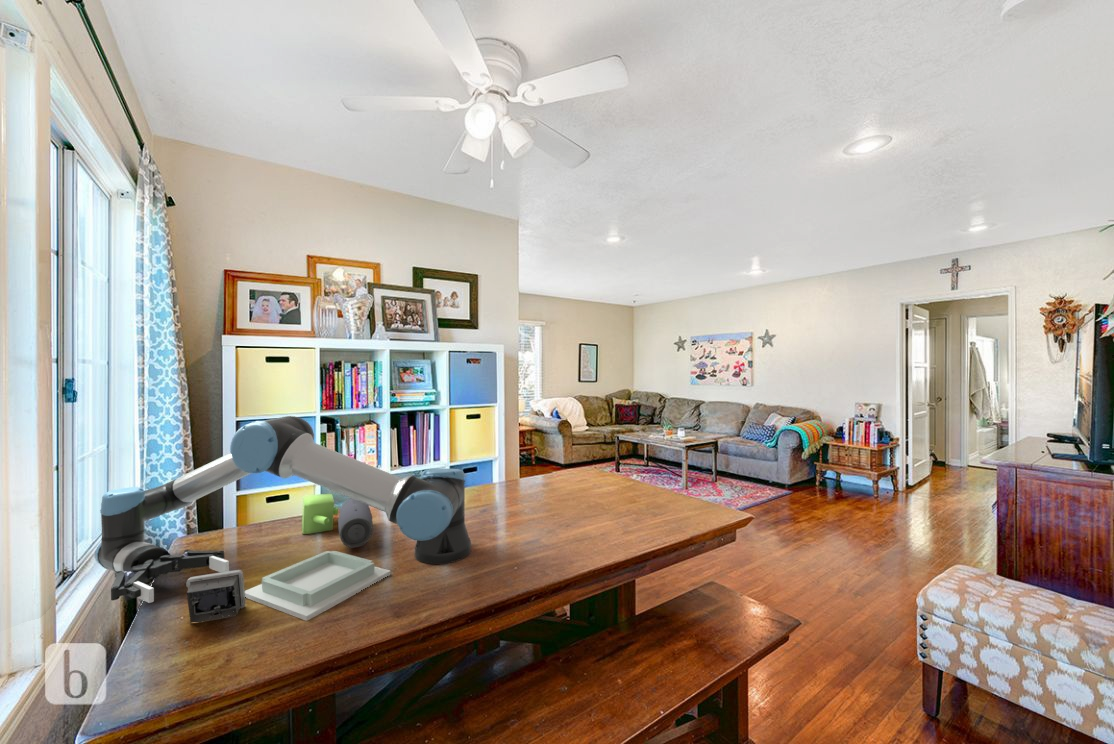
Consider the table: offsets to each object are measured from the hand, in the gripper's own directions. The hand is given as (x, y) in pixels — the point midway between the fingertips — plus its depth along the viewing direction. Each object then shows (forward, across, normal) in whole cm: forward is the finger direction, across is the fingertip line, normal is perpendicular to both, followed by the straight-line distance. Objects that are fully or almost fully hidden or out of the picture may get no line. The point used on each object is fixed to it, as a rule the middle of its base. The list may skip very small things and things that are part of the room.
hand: (191, 580), depth 94 cm
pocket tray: (+16, -18, -6) cm, 25 cm away
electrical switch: (+9, 0, -6) cm, 11 cm away
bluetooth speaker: (-1, -42, -6) cm, 43 cm away
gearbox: (-18, -43, -6) cm, 47 cm away
